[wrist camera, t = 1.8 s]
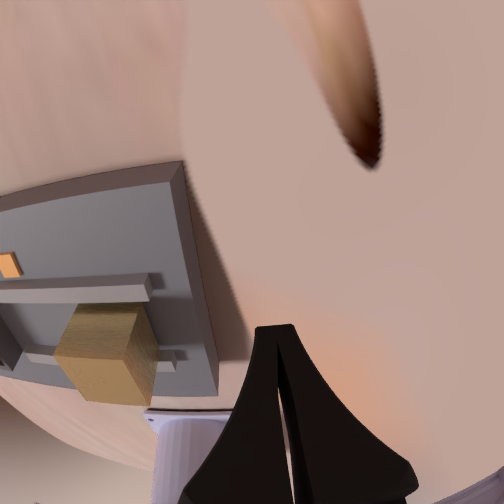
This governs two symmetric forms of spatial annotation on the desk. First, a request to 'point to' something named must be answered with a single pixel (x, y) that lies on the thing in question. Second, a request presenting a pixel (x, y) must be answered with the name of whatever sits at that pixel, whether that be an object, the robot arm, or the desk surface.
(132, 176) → the control panel
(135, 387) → the slider knob
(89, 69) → the desk surface
